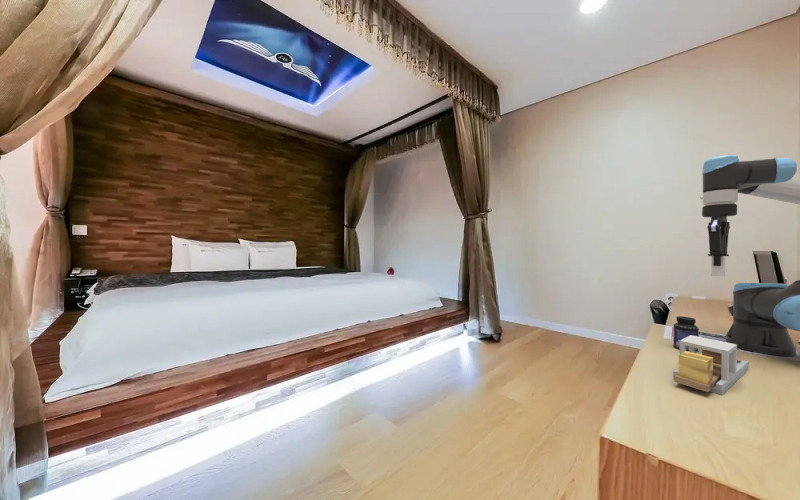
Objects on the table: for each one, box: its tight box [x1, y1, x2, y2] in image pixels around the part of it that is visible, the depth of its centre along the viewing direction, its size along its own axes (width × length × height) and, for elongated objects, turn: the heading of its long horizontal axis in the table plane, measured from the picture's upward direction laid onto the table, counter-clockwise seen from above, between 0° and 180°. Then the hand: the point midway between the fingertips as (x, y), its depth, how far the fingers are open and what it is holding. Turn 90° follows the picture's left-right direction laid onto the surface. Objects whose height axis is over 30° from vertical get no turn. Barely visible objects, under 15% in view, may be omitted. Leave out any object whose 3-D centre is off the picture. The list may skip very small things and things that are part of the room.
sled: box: [673, 349, 730, 393], centre depth 74 cm, size 22×6×7 cm, turn 120°
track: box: [672, 335, 749, 396], centre depth 78 cm, size 27×9×10 cm, turn 120°
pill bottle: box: [673, 315, 700, 353], centre depth 97 cm, size 6×6×11 cm
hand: (718, 275), depth 91 cm, fingers closed
